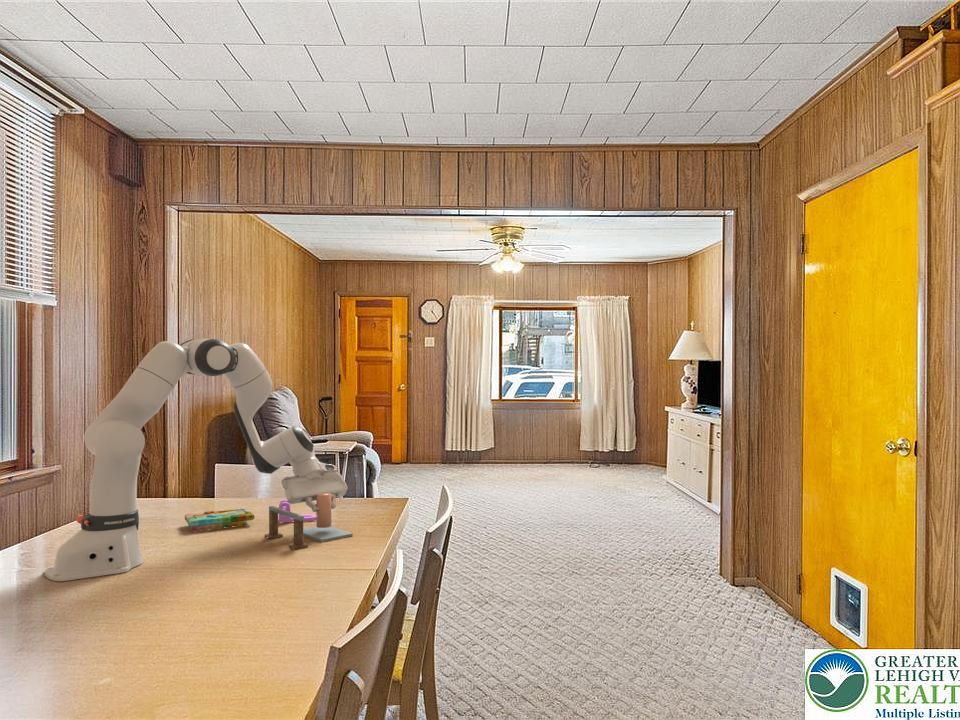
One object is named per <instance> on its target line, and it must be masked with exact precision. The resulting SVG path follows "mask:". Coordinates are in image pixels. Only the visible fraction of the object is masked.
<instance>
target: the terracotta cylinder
mask: <svg viewBox="0 0 960 720" xmlns="http://www.w3.org/2000/svg"><path fill="white" fill-rule="evenodd" d="M315 501H316V503H315V504H318V507H319V510H318V511H317V512H315V513H316V521H315V522H316V523H315V524H316V526H315V527H318V528H327V527H331V526H332V509H331V493H322V494H316V500H315Z"/></svg>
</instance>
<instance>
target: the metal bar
mask: <svg viewBox="0 0 960 720" xmlns="http://www.w3.org/2000/svg"><path fill="white" fill-rule="evenodd" d="M269 511H272V512H275V513H278V515H279V514H281V515H284V516H287V517H290V518H293V519H296V520H298V521H303V520H304V516H301V515H302V514H298V513H296V512H292V511H290V512H289V511H286V510H283V509H280V508H279V507H277V506H274V505H270V506H268V512H269Z"/></svg>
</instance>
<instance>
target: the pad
mask: <svg viewBox="0 0 960 720" xmlns="http://www.w3.org/2000/svg"><path fill="white" fill-rule="evenodd" d="M303 535H304V536H303V537H306V538H308V537H309V539H310V540H314V541H317V542H319V543H324V542H330V541H334V540H340V539H345V538H348V537H349V538H350V537H353V535H354V534H353V533H352V532H350V531H346V530H343V529H341V528H337V527H334V526H332V525H331V527H327V528H318V527H316V526H311V527H306V528H303Z"/></svg>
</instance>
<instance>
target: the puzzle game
mask: <svg viewBox="0 0 960 720" xmlns="http://www.w3.org/2000/svg"><path fill="white" fill-rule="evenodd" d="M254 519H255V514H254V513H252V511H250V510H249V509H248V508H237V509H229V510H228V509H226V510H216V511H214V510H206V511H203V512H197V513H195V512H194V513H186V514H185V515H184V520H185V522H186V523H187V525H188V527H189V528H191V529H190V530H191V532H193V531H197V532H201V531H200V530H206V531H209V530H208V529H214V530H218V529H217V528H223V529H225V528H224V527H231V528H233V527H232V526H240V527H243V525H244V522H248V521H252V520H254Z"/></svg>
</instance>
